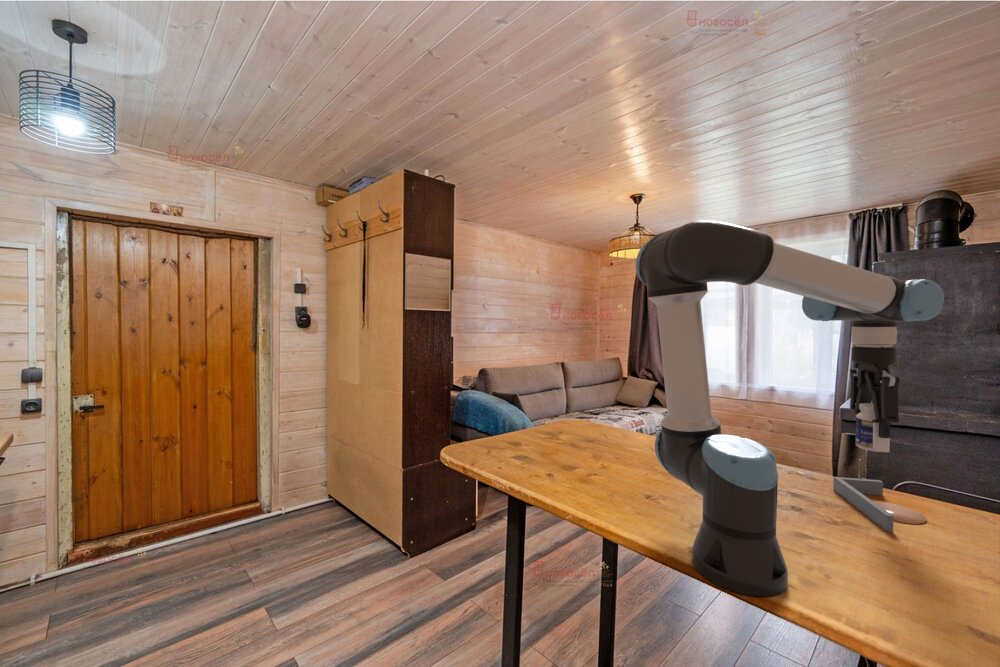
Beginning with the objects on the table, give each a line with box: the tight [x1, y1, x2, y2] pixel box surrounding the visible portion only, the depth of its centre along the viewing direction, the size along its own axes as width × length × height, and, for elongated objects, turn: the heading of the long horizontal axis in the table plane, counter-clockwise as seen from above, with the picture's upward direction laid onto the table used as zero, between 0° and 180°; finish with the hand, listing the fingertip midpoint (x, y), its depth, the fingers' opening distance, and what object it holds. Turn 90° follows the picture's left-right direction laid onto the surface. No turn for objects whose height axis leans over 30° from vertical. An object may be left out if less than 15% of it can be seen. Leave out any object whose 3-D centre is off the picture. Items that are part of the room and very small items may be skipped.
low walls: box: [832, 476, 894, 533], centre depth 97 cm, size 22×10×4 cm, turn 165°
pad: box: [874, 501, 927, 525], centre depth 96 cm, size 10×10×1 cm
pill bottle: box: [855, 402, 876, 452], centre depth 94 cm, size 6×6×10 cm
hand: (872, 446), depth 94 cm, fingers closed on pill bottle, 6 cm apart
